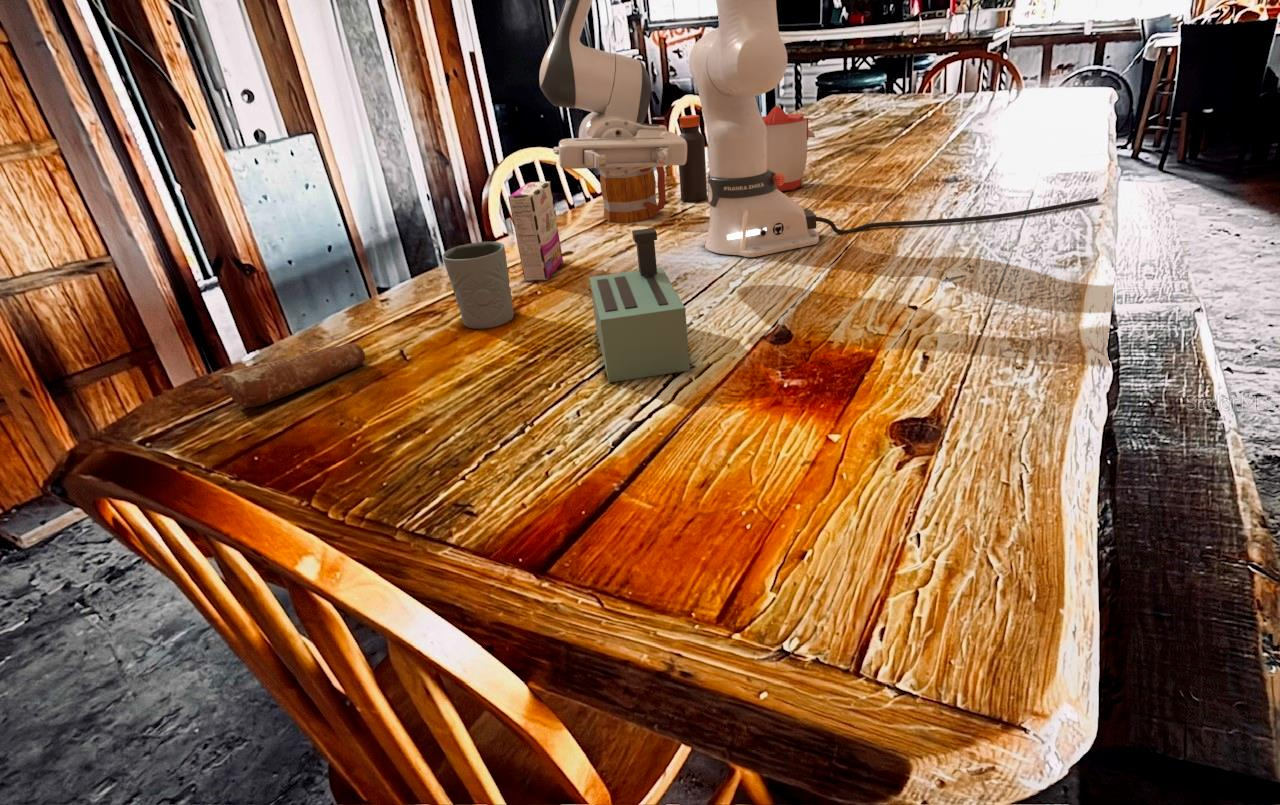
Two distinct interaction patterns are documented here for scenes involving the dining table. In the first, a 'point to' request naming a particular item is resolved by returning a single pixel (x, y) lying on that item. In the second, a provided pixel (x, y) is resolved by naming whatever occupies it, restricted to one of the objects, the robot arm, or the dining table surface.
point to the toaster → (639, 325)
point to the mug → (632, 195)
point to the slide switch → (646, 250)
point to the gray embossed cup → (480, 283)
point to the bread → (289, 374)
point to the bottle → (693, 161)
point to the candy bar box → (536, 230)
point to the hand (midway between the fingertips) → (632, 160)
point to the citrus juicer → (787, 146)
